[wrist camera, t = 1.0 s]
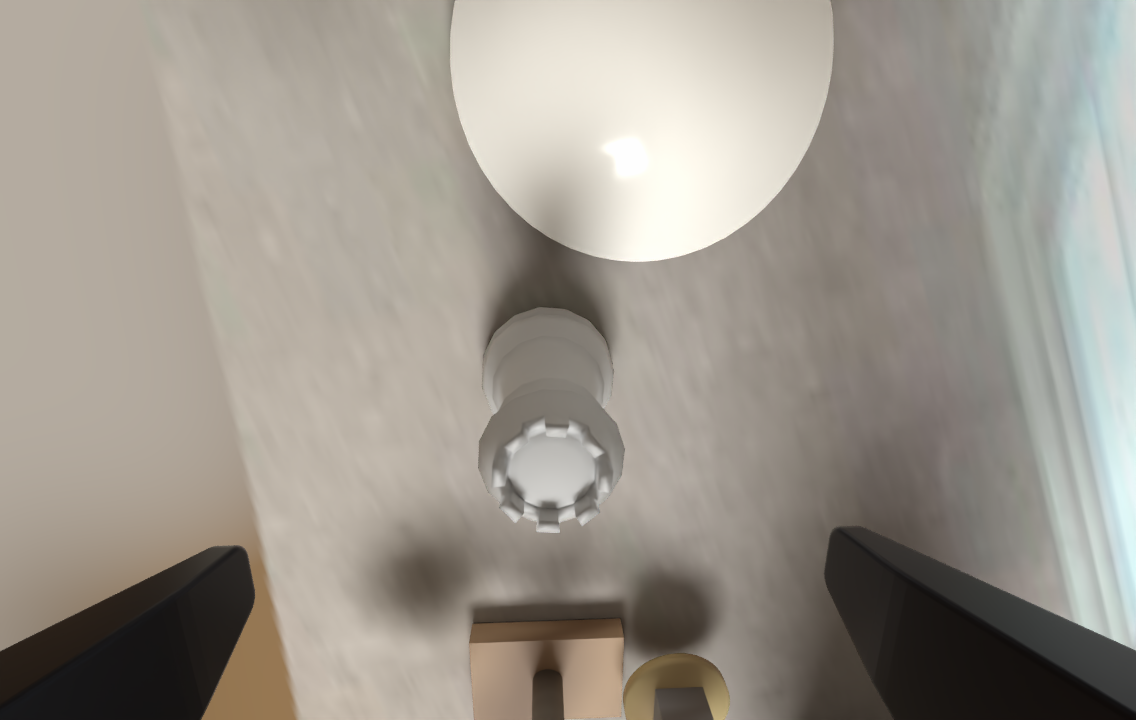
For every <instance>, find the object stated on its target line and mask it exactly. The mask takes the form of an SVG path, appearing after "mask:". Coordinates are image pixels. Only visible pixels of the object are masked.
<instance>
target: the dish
mask: <svg viewBox="0 0 1136 720" xmlns="http://www.w3.org/2000/svg"><path fill="white" fill-rule="evenodd" d="M833 48H834V32H833V12H832V7H831V1H830V0H455V4H454V9H453V17H452V25H451V33H450V68H451V76H452V85H453V93H454V97H455V102H456V106H457V110H458V114H459V119H460V122H461V124H462V127H463V130H464V133H465V135H466V138H467V141H468V144H469V146H470V148H471V150H472V152H473V154H474V156H475V158H476V160H477V162H478V164H479V166H480V167H481V169H482V171H483V172H484V174H485V175H486V177H487V178H488V180H489V181H490V183H491V184H492V186H493V187H494V188H495V190H496V191H497V192H498V193H499V194H500V196H501V197H502V198H503V199H504V200H505V201H506V202H507V204H508V205H509V206H510V207H511V208H512V209H513V210H514V211H515V212H516V213H517V214H519V215H520V216H521V217H522V218H523V219H524V220H525V221H526V222H528V223H529V224H530V225H531V226H533V227H534V228H536V229H537V230H539V231H540V232H542V233H543V234H544V235H546V236H547V237H549V238H551V239H553V240H555V241H557V242H559V243H561V244H563V245H565V246H567V247H569V248H571V249H574V250H576V251H579V252H582V253H585V254H588V255H591V256H595V257H600V258H605V259H610V260H616V261H632V262H642V261H656V260H663V259H668V258H673V257H678V256H683V255H686V254H688V253H691V252H694V251H697V250H700V249H703V248H705V247H707V246H709V245H711V244H713V243H715V242H717V241H719V240H721V239H724V238H725V237H727V236H729V235H730V234H732V233H733V232H735V231H736V230H738V229H739V228H741V227H742V226H744V225H745V224H746V223H748V222H749V221H750V220H751V219H752V218H753V217H755V216H756V215H757V214H758V213H759V212H760V211H762V210H763V209H764V208H765V207H766V206H767V205H768V204H769V203H770V201H771V200H772V199H773V198H774V197H775V196H776V195H777V194H778V193H779V192H780V191H781V189H782V188H783V187H784V185H785V184H786V183H787V181H788V180H789V178H790V177H791V176H792V174H793V173H794V172H795V170H796V169H797V167H798V165H799V163H800V162H801V160H802V158H803V156H804V155H805V153H806V151H807V149H808V148H809V145H810V143H811V141H812V138H813V136H814V134H815V131H816V129H817V127H818V124H819V122H820V119H821V115H822V112H823V109H824V105H825V102H826V99H827V95H828V89H829V84H830V78H831V73H832V63H833Z"/></svg>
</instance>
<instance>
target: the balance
mask: <svg viewBox="0 0 1136 720" xmlns="http://www.w3.org/2000/svg"><path fill="white" fill-rule="evenodd" d="M469 648H470V664H471V680H472V695H473V711H474V720H564V719H582V718H604V717H621V704H622V676H623V648H624V636H623V630H622V625H621V620H620V618H618V619H590V620H563V621H536V622H509V623H481V624H472V629H471V636H470V642H469ZM623 703H624V709H625V715H626V720H724V719H725V717H726V715H727V713H728V710H729V705H730V697H729V692H728V689H727V686H726V684H725V681H724V679H723V676H722V674H721V672H720V671H719V670H718V668H717V667H716V666H715V665H714V664H712V663H711V662H709V661H708V660H706V659H704V658H702V657H699V656H696V655H692V654H686V653H675V654H667V655H663V656H660V657H657V658H654V659H652V660H650V661H648V662H646V663H645V664H643V665H642V666H641V667H639V668H638V669H637V670H636V671H635V672H634V673H633V674H632V675H631V677H630V678H629V680H628V682H627V684H626V686H625V689H624V694H623Z"/></svg>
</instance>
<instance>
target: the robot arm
mask: <svg viewBox="0 0 1136 720" xmlns="http://www.w3.org/2000/svg"><path fill="white" fill-rule="evenodd" d="M824 575H825V582H826V585H827V588H828V591H829V593H830V595H831V597H832V599H833V601H834V603H835V605H836V607H837V610H838V612H839V614H840V616H841V618H842V620H843V622H844V624H845V626H846V628H847V631H848V633H849V635H850V637H851V639H852V641H853V643H854V645H855V647H856V650H857V652H858V654H859V656H860V658H861V660H862V662H863V664H864V666H865V668H866V670H867V672H868V674H869V676H870V678H871V680H872V682H873V684H874V686H875V688H876V689H877V691H878V693H879V695H880V696H881V698H882V700H883V702H884V703H885V705H886V707H887V708H888V710H889V712H890V713H891V715H892V717H893V719H894V720H1136V650H1133V649H1131V648H1129V647H1127V646H1125V645H1122V644H1120V643H1118V642H1116V641H1114V640H1111V639H1109V638H1107V637H1105V636H1103V635H1100V634H1098V633H1096V632H1094V631H1092V630H1089V629H1087V628H1085V627H1083V626H1080V625H1078V624H1076V623H1074V622H1072V621H1069V620H1067V619H1065V618H1063V617H1061V616H1058V615H1056V614H1054V613H1052V612H1050V611H1047V610H1045V609H1043V608H1041V607H1039V606H1036V605H1034V604H1032V603H1030V602H1027V601H1025V600H1023V599H1021V598H1019V597H1016V596H1014V595H1012V594H1010V593H1008V592H1005V591H1003V590H1001V589H999V588H997V587H994V586H992V585H990V584H988V583H986V582H983V581H981V580H979V579H977V578H974V577H972V576H970V575H968V574H966V573H963V572H961V571H959V570H957V569H955V568H952V567H950V566H948V565H946V564H944V563H941V562H939V561H937V560H935V559H933V558H930V557H928V556H926V555H924V554H921V553H919V552H917V551H915V550H913V549H910V548H908V547H906V546H904V545H902V544H899V543H897V542H895V541H893V540H891V539H888V538H886V537H884V536H882V535H880V534H877V533H875V532H873V531H871V530H868V529H866V528H864V527H861V526H842V527H836V528H834V529H833V530H832V532H831V534H830V538H829V544H828V551H827V557H826V564H825V571H824ZM254 599H255V589H254V584H253V579H252V574H251V569H250V564H249V559H248V554H247V552H246V550H245V549H244V548H243V547H242V546H238V545H236V546H235V545H234V546H214V547H211V548H208V549H206V550H204V551H202V552H200V553H198V554H196V555H194V556H192V557H190V558H188V559H186V560H184V561H182V562H180V563H178V564H176V565H174V566H172V567H170V568H168V569H166V570H164V571H162V572H160V573H158V574H156V575H154V576H152V577H150V578H148V579H145V580H144V581H142V582H140V583H138V584H135V585H133V586H131V587H129V588H127V589H125V590H123V591H121V592H120V593H117V594H115V595H113V596H111V597H109V598H107V599H105V600H103V601H101V602H99V603H97V604H95V605H93V606H91V607H89V608H87V609H85V610H83V611H81V612H79V613H77V614H75V615H73V616H71V617H69V618H66V619H64V620H62V621H60V622H58V623H56V624H54V625H52V626H50V627H48V628H46V629H44V630H42V631H40V632H38V633H36V634H34V635H32V636H30V637H28V638H26V639H24V640H22V641H20V642H18V643H16V644H14V645H12V646H10V647H8V648H6V649H4V650H2V651H0V720H201V719H202V717H203V715H204V713H205V711H206V709H207V707H208V705H209V703H210V701H211V698H212V696H213V695H214V692H215V690H216V688H217V686H218V684H219V681H220V679H221V677H222V675H223V672H224V670H225V668H226V666H227V664H228V661H229V659H230V657H231V655H232V652H233V650H234V648H235V646H236V644H237V642H238V639H239V637H240V635H241V633H242V630H243V628H244V626H245V624H246V622H247V619H248V617H249V615H250V613H251V610H252V608H253V604H254Z"/></svg>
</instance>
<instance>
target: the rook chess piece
mask: <svg viewBox="0 0 1136 720" xmlns="http://www.w3.org/2000/svg"><path fill="white" fill-rule="evenodd" d="M612 364H613V363H612V360H611V356H610V353H609V350H608V347H607V343H606V340H605V339H604V338H603V336H602V335H601V334H600V333H599V332H598V331H597V329H596V328H595V327H594V326H593V325H592V324H591V322H590V321H589V320H587V319H585V318H583V317H581V316H579V315H577V314H575V313H573V312H571V311H569V310H567V309H560V308H546V307H538V308H535V309H532V310H529V311H526V312H523V313H520V314H517V315H514V316H513V317H512V318H511V319H509V320H508V321H507V322H506V323H505V324H504V325H502V326H501V327H500V328H499V329H498V330H497V331H495V333H494V335H493V337H492V339H491V341H490V343H489V345H488V347H487V349H486V351H485V353H484V360H483V375H482V389H483V391H484V394H485V396H486V399H487V401H488V404H489V407H490V409H491V411H492V413H493V414H494V415H493V416H492V417H491V419H490V421H489V423H488V425H487V427H486V429H485V431H484V433H483V435H482V437H481V439H480V441H479V457H478V469H479V471H480V474H481V476H482V478H483V481H484V483H485V486H486V488H487V491H488V492H489V493H490V494H491V495H492V496H493V497H494V498H495V499H496V500H497V501H498V502H499V503H500V507H499V508H500V509H501V510H502V511H503V512H504V513H505V514H506V515H507V516H508V517H509V518H510V519H511V520H512V521H514V522H515V523H516V522H517V521H518V520H519V519H520V517H524V518H526V519H528V520H531V521H537V532H547V533H560V528H559V522H563V521H567V520H570V519H573V518H577V519H578V521H579V522H580V524H581V525H582V526H583V525H584V524H586V523H587V522H588V521H589V520H591V519H592V518H593V517H595V516H596V515H597V514H599V513H600V510H599V504H601V503H602V502H603V501H605V500H606V499H607V498H608V497H609V496H610V494H611V492H612V490H613V489H614V487H615V485H616V484H617V482H618V480H619V479H620V477H621V475H622V468H623V460H624V451H625V448H624V445H623V442H622V439H621V436H620V432H619V429H618V426H617V424H616V422H615V421H614V420H613V419H612V418H611V417H610V416H609V415H608V414H607V412H606V411H605V410H604V408H605V406H606V404H607V402H608V401H609V399H610V397H611V393H612V384H613V375H614V369H613V366H612Z"/></svg>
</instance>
